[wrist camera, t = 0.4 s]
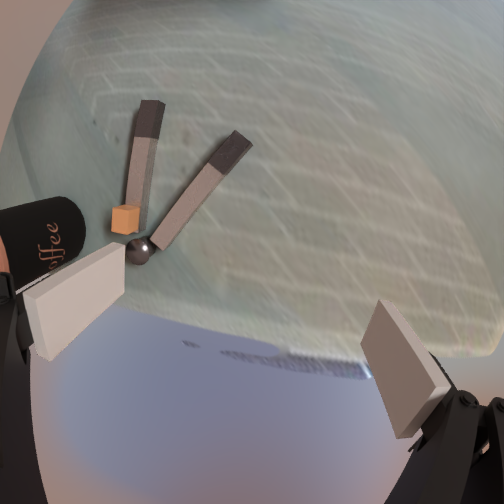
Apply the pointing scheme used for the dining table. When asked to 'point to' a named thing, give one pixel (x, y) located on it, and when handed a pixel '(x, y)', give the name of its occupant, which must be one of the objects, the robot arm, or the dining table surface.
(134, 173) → the tongs lower
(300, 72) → the dining table surface
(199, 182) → the tongs upper
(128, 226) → the tab
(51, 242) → the coffee jar
